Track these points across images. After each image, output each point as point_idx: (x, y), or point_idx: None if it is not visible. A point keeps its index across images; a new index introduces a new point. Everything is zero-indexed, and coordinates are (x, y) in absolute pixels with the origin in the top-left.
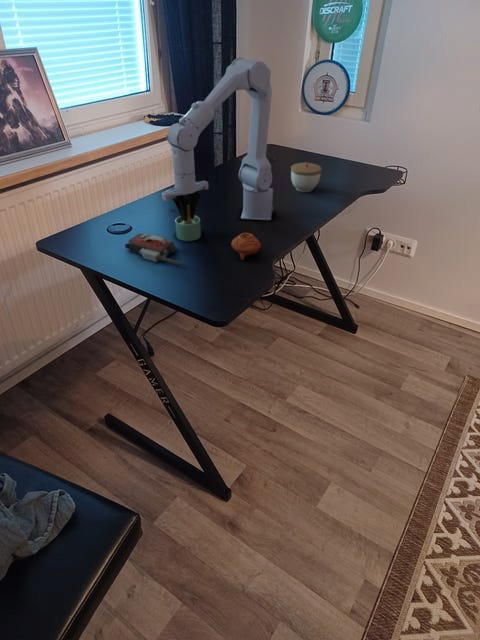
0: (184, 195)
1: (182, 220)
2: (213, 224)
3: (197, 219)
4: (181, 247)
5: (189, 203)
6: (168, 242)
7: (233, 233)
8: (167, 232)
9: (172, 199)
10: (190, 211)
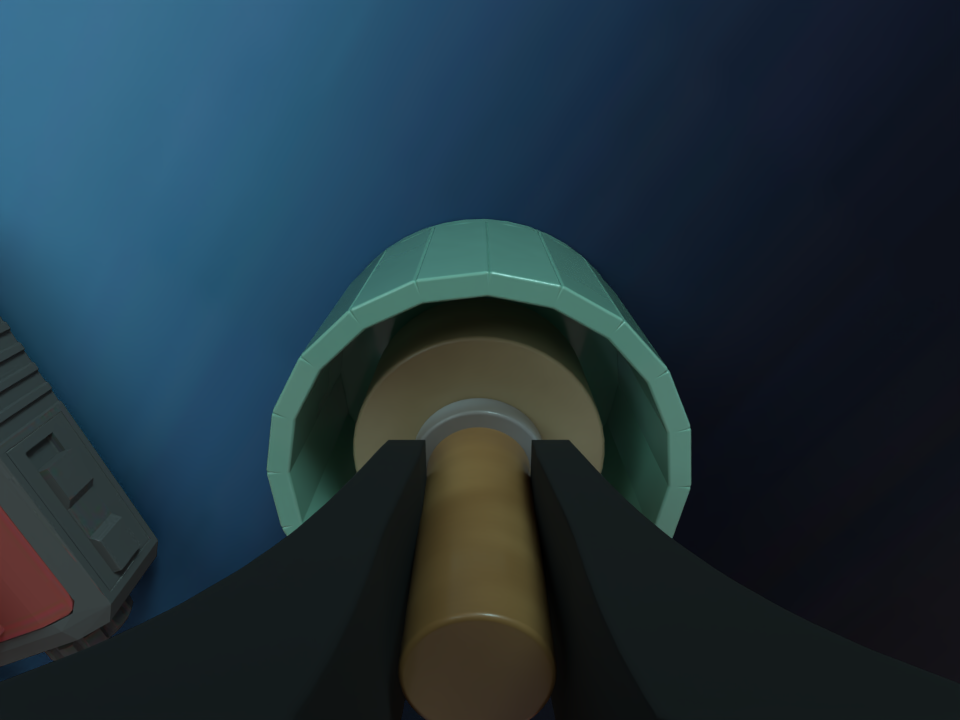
0: (624, 687)
1: (453, 350)
2: (922, 314)
3: (655, 476)
4: (259, 530)
5: (578, 711)
6: (23, 635)
7: (870, 612)
8: (308, 105)
9: (42, 675)
10: None
